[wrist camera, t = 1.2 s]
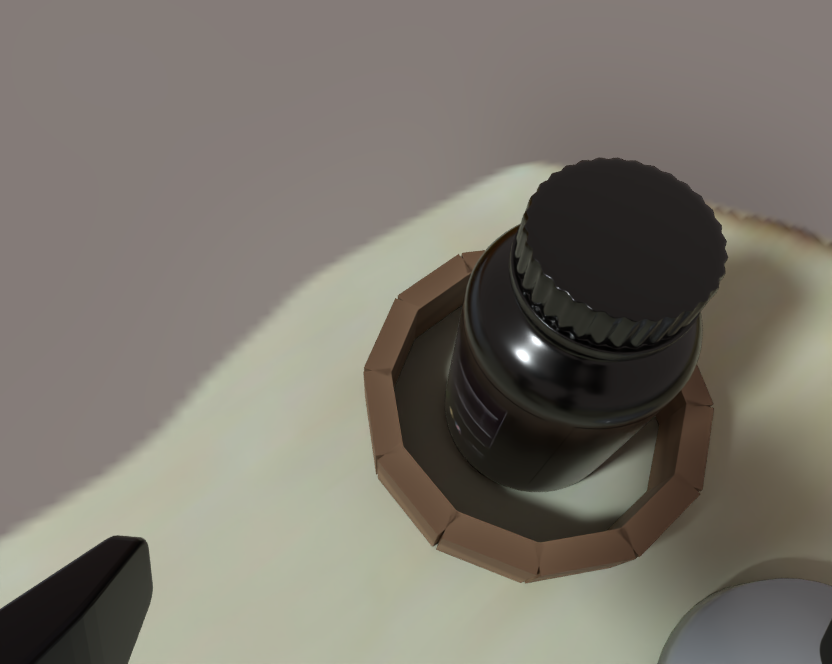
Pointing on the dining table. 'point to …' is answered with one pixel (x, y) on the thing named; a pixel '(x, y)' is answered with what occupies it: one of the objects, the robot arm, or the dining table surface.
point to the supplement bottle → (581, 322)
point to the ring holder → (493, 546)
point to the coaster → (754, 625)
